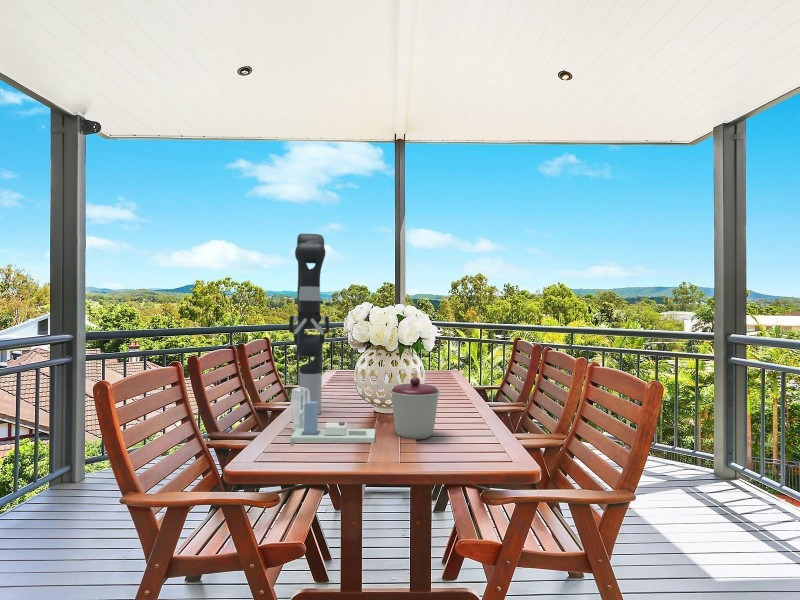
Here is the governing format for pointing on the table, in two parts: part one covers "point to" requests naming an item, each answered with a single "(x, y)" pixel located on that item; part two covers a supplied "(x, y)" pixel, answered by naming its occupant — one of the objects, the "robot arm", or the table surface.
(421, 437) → the canister
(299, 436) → the board
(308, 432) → the peg
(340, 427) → the lid
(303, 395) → the beer glass
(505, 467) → the table surface
